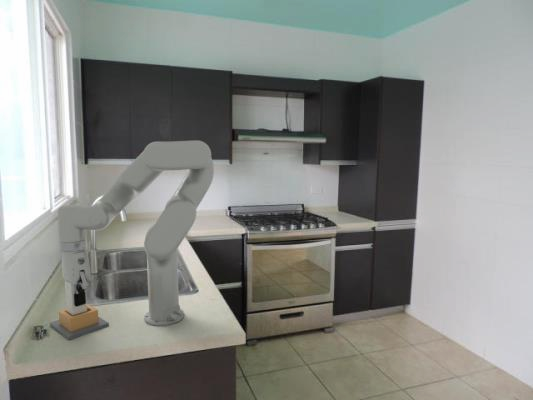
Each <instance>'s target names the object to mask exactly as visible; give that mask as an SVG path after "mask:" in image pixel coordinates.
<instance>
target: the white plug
mask: <svg viewBox="0 0 533 400" xmlns="http://www.w3.org/2000/svg"><path fill="white" fill-rule="evenodd" d="M77 282H78V283H80V282H81V281H77ZM77 286H78V288H79V286H81V285H77ZM64 287H65V288H64V289H65V290H64V291H65V305H66V307H65V309H67V312H68V313H70V314H71V315H76V314H79V313H82V312H86V311H87V304H88V298H87V297H88V296H87V291H86V292H85V294H86V304H84V305H80V306H77V307H76V306H75V304H74V294H75V288H74V284H72V283H70V282H68V281H67V280H65V279H64Z"/></svg>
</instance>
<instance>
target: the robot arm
mask: <svg viewBox="0 0 533 400" xmlns="http://www.w3.org/2000/svg"><path fill="white" fill-rule="evenodd" d="M183 170H186V174H185V176H184V178H183V179H182V181H181V182H180V184H179V186H178V187H177V189H176V190H175V192H174V193H173V195H172V196H171V197H170V199H169V200H168V201H166V204H165V207H164V209H163V210H162V212H161V213H160V215H159V217H158V218H157V220H156V222H155V223H154V224H153V225H151V226H150V227H149V228H148V230H147V232H146V234H145V239H144V242H143V246H144V251H145V253H146V262H147V263H146V264H147V265H146V269H147V295H148V312H146V313H145V315H144V322H145V323H146V324H148V325H151V326H155V327H162V326H163V327H164V326H169V325H173V324H176V323H178V322H180V321H181V320H183V318H184V316H185V311H184V310H183V309H182V308H181V306H180V301H179V300H180V299H179V296H180V295H179V274H178V273H179V272H178V271H179V268H178V267H179V266H178V265H179V263H178V248H179V246H180V245H181V244H182V242H183V240H184V239H185V238H186V236H187V235H188V233H189V232H190V230H191V228H192V227H193V225H194V223H195V220H196V219H197V209H198V208H199V205H200V204H201V202H202V201H203V199H204V197H205V196H206V194H207V192H208V191H209V189H210V187H211V185H212V183H213V179H214V173H215V171H214V170H215V169H214V163H213V159H212V151H211V148H210V147H209V144H207V143H206V142H204V141H202V140H178V141H176V140H175V141H152V142H150V143H148V144H147V145H146V146H145V147H144V149H143V151H142V152H141V153H140V154H139V155H138V156H137V157H136V158H135V159H134V160H133V161H132V162H131V163H130V164H129V165H128V166H127V167H126V168H125V169H124V170H123V171H122V172H121V173H120V175H118V177H117V179H116V181H115V182H114V184H113V185H112V186H111V187H110V188H109V189H108V191H106V192H105V193H104V194H103V195H102V196H101V198H100V199H98V200H97V202H95V203H94V204H92V205H90V206H84V205H82V204H64V205H62V206H60V207H59V208H58V209H57V222H58V224H57V225H58V243H59V253H61V275H62V278H63V279H64V281H65V280H67V281H68V282H70V283H72V284H74V288H75V294H74V304H75V306H76V307H77V306H80V305H84V304H86V295H87V288H88V285H89V283H90V282H91V279H92V278H91V277H92V276H91V268H90V261H89V255H88V235H87V231H88V230H89V231H102V230H105V229H106V228H107V227H108V226H109V225H110V224H111V222H113V220H114V219H115V218H116V217H117V216H118V215H119V214H120V213H121V212H123V210H124V209H125V208H126V207H127V206H128V205H129V204H130V203H131V202H132V201H133V200H134V199H136V198H137V197H139V196H140V195H142V193H143V192H145V191H146V190H147V188H148V187H149V186H150V185H151V184H153V182H154V181H155V180H156V179H157V178H158V177H160V175H161V174H162V173H163V172H164V171H183ZM77 281H81V282H80V283H78V282H77ZM88 282H89V283H88ZM77 285H81V286H79V288H78V286H77ZM85 292H86V294H85Z"/></svg>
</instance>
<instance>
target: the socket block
mask: <svg viewBox="0 0 533 400" xmlns="http://www.w3.org/2000/svg"><path fill="white" fill-rule="evenodd" d="M49 326H50V327H51V328H53V330H55V331H56V332H57V333H59V334H60V335H62V336H63V337H64V338H65V339H67V340H68V341H70V340H73V339H76V338H78V337H81V336H84V335H87V334H90V333H92V332H93V333H94V332H95V331H98V330H101V329H103V328H106V327H109V326H110V325H109V321H107V320H105V319H103V318H102V317H100V316H99V309H97V308H95V307H94V306H92V305H90V304H88V303H87V311H86V312H82V313H79V314H76V315H71V314H70V313H68V312H67V308H65V309H62V310H59V311H58V320H53V321H51V322H49Z"/></svg>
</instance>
